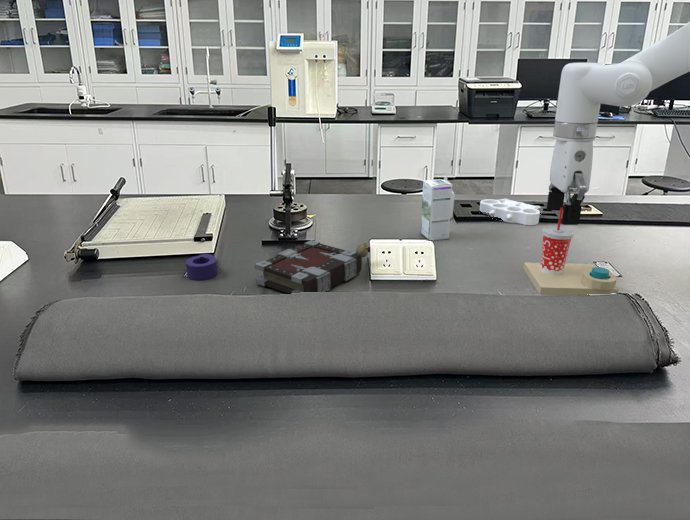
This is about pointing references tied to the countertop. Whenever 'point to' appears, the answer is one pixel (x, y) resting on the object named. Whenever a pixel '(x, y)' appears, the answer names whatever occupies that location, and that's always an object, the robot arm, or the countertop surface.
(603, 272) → the button
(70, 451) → the countertop surface
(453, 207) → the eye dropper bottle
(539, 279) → the scale
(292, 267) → the book
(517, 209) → the white tube rack
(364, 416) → the countertop surface
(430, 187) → the syrup box
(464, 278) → the countertop surface
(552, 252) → the beverage cup
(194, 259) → the purple thick ring
